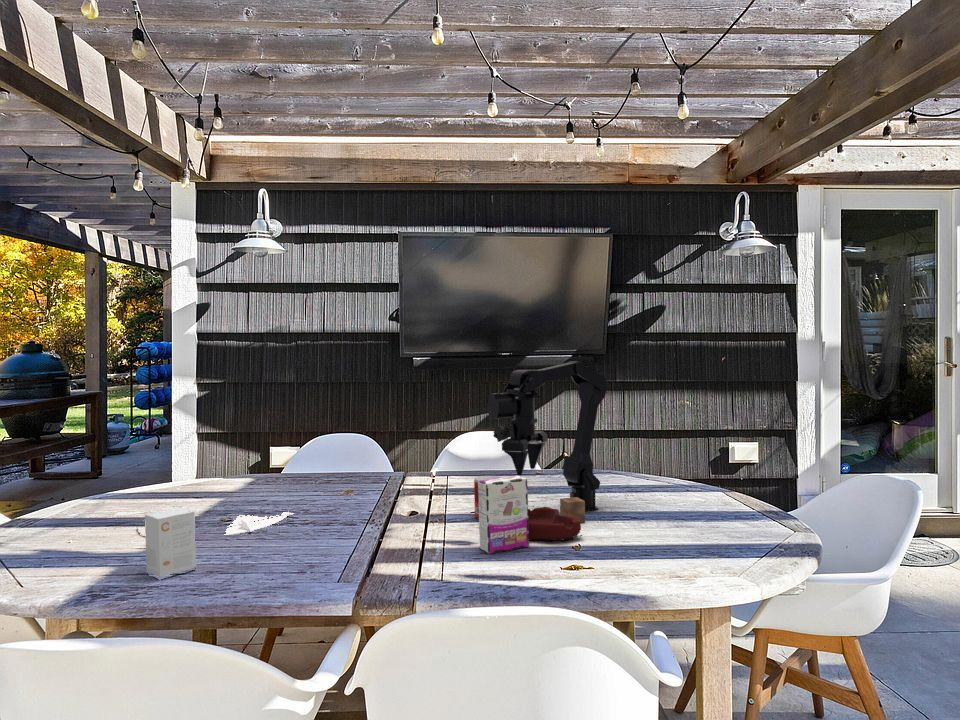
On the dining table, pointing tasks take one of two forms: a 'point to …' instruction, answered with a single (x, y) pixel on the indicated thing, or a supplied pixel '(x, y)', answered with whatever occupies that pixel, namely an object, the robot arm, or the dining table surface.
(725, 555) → the dining table surface
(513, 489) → the candy bar box
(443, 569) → the dining table surface
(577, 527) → the ashtray
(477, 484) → the canned food
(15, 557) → the dining table surface
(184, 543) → the small box
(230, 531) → the white flat piece
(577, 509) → the walnut block
